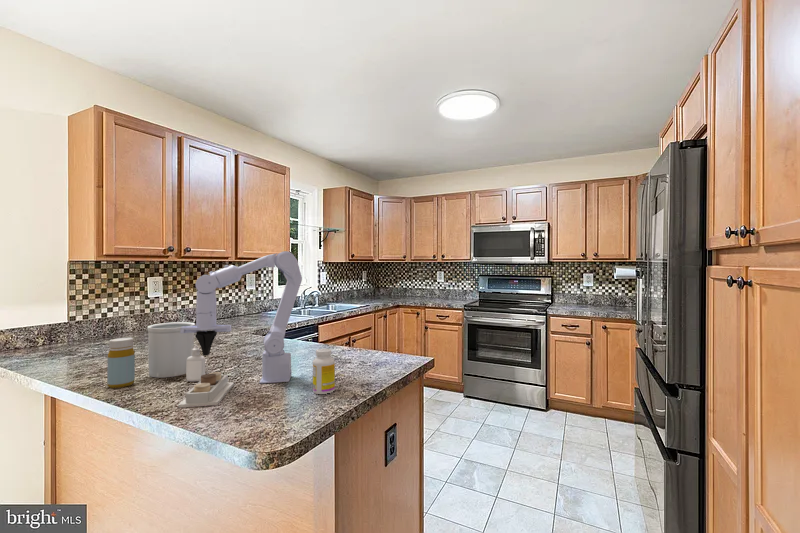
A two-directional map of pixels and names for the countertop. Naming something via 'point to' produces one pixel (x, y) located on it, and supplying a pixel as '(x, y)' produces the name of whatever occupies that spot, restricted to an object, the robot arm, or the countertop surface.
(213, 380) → the walnut plug
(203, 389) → the maple plug
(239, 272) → the robot arm
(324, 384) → the supplement bottle
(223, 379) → the white compartment tray
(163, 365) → the utensil holder
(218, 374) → the maple plug
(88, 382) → the countertop surface
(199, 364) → the eye dropper bottle
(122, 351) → the bottle
